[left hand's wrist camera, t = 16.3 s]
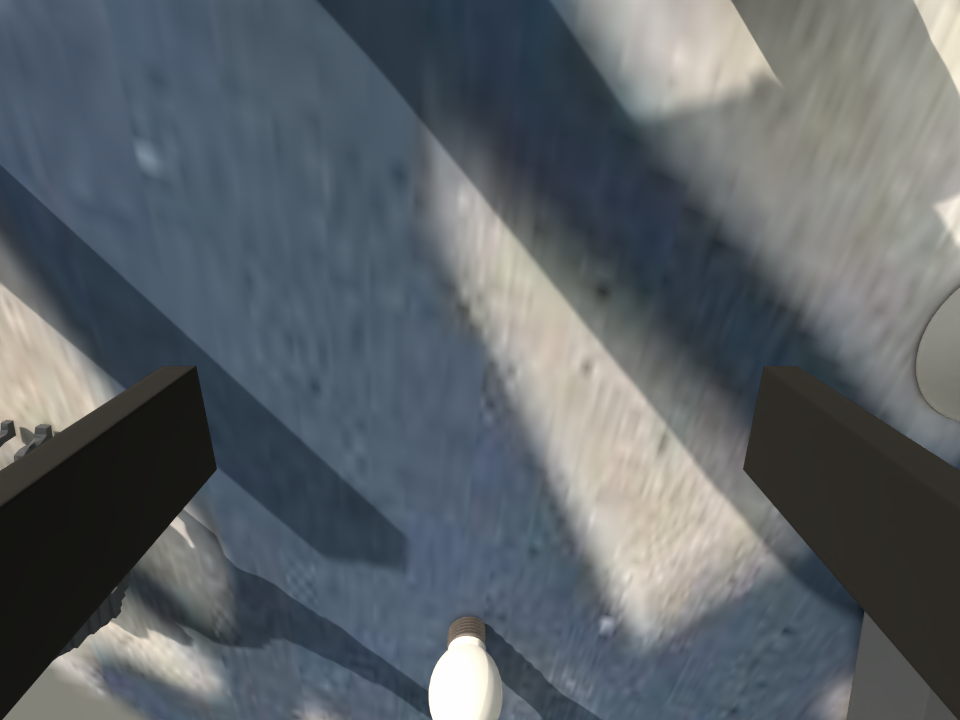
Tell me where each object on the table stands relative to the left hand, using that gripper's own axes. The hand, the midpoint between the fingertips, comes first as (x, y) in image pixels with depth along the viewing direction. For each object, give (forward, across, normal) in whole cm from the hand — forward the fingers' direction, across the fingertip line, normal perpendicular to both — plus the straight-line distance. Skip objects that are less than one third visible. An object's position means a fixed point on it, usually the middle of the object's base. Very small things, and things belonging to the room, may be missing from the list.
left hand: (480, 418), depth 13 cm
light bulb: (+30, -1, -40) cm, 50 cm away
